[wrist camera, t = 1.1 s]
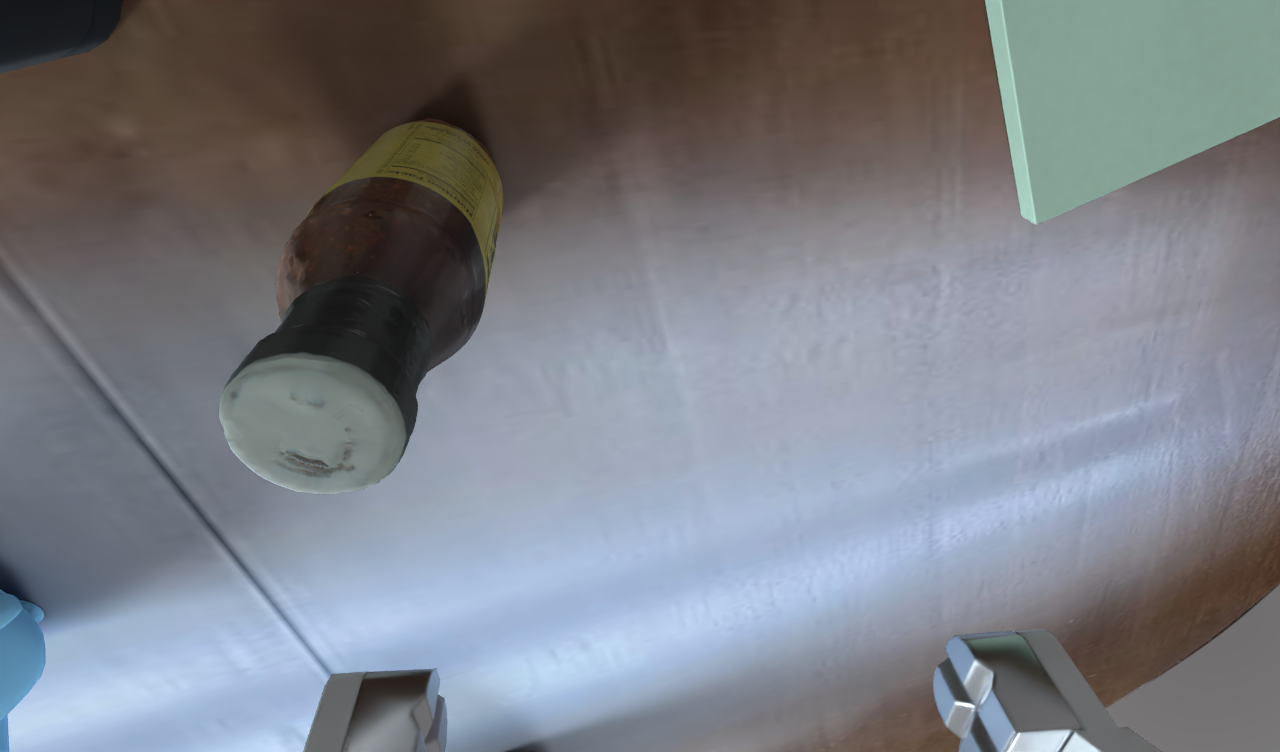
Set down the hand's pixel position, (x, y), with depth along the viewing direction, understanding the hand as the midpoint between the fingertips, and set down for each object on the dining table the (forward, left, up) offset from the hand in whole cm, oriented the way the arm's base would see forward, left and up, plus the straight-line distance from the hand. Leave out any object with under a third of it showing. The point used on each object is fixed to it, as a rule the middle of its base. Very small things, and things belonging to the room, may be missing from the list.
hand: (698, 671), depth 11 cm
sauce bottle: (-4, -7, -26) cm, 28 cm away
